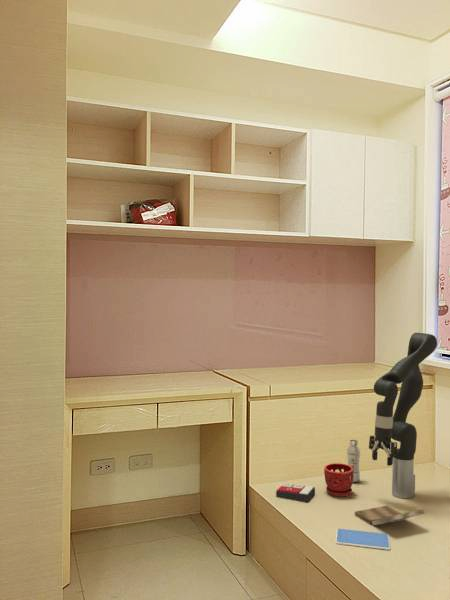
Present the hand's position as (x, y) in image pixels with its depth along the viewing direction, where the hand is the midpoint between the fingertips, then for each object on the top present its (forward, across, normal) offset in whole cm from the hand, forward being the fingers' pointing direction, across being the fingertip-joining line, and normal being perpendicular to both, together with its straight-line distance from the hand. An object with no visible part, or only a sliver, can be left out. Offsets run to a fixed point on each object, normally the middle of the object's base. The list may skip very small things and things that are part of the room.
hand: (381, 462), depth 235 cm
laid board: (+18, -11, +12) cm, 24 cm away
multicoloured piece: (+20, +24, +28) cm, 42 cm away
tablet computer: (+20, -23, +33) cm, 45 cm away
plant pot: (+18, +17, +9) cm, 26 cm away
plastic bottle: (+17, +25, -8) cm, 32 cm away
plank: (+15, -22, +13) cm, 29 cm away
